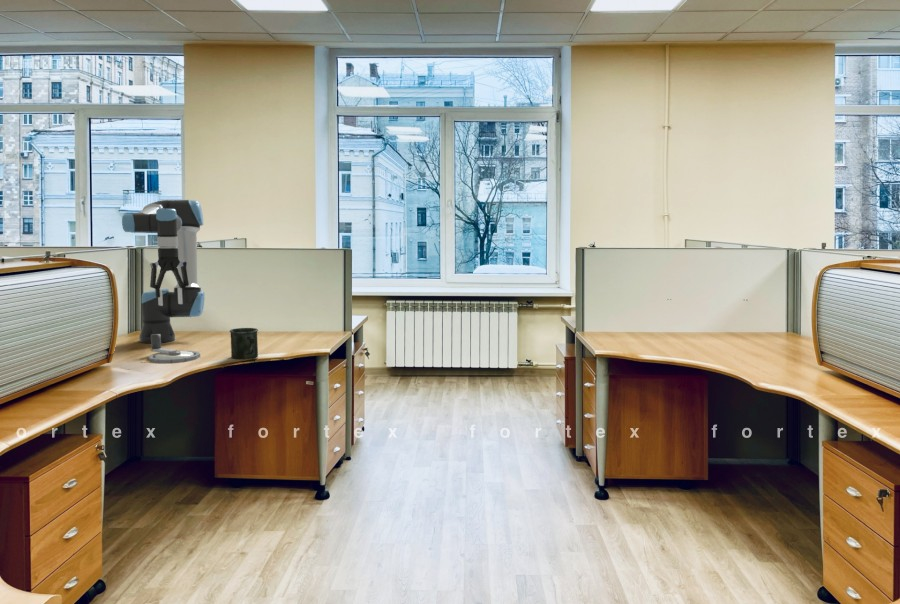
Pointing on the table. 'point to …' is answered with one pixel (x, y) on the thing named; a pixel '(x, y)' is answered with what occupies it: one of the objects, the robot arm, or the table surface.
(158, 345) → the dial
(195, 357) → the panel
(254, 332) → the mug
